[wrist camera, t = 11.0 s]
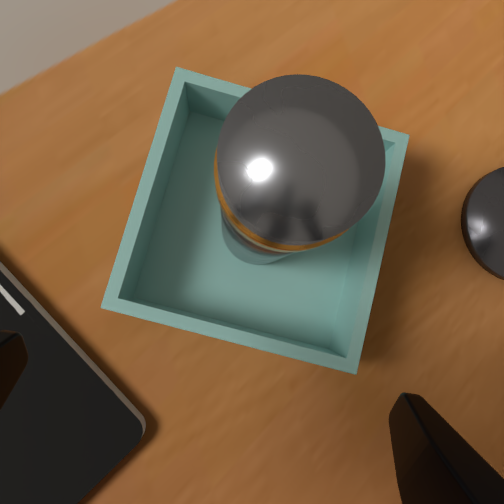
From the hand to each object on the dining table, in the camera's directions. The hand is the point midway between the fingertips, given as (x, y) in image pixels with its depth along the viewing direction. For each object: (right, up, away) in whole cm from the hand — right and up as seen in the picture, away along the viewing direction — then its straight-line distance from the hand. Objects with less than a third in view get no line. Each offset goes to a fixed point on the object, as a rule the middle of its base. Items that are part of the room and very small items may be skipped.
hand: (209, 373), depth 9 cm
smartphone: (-12, -4, +11) cm, 17 cm away
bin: (+1, +4, +12) cm, 13 cm away
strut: (+1, +4, +12) cm, 13 cm away
